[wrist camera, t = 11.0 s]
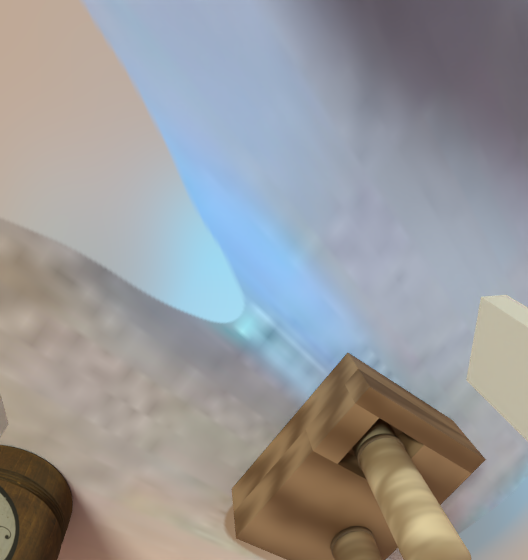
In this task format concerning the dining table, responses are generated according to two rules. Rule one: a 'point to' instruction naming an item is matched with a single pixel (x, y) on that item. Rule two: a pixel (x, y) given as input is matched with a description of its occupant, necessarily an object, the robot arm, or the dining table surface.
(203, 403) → the dining table surface
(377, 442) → the beech peg
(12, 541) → the wooden container
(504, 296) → the robot arm
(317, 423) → the board
